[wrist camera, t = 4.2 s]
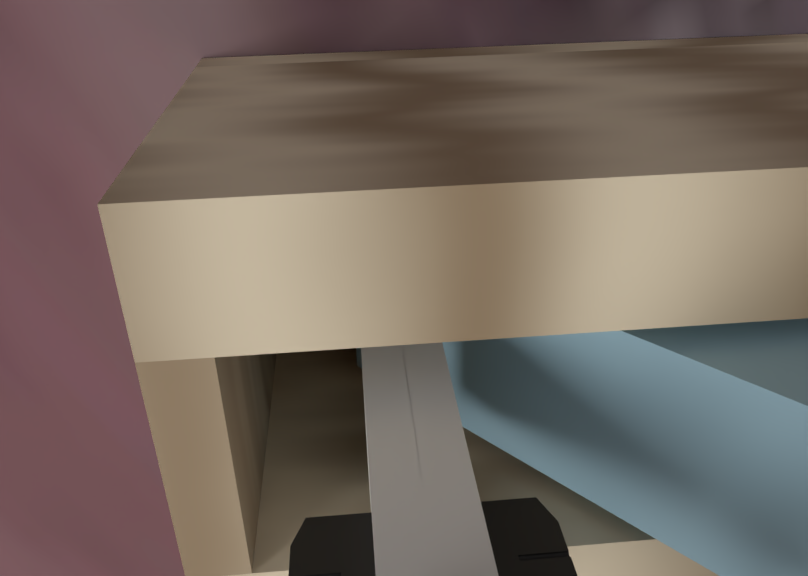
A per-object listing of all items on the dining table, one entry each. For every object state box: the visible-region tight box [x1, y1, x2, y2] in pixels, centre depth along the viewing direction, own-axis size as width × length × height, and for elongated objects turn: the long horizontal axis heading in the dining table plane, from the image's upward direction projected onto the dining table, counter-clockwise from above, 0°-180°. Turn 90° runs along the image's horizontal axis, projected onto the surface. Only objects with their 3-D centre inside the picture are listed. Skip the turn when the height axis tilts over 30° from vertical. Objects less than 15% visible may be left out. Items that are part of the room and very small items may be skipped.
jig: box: [97, 34, 808, 576], centre depth 17 cm, size 23×10×10 cm, turn 91°
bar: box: [356, 318, 808, 576], centre depth 14 cm, size 17×4×4 cm
